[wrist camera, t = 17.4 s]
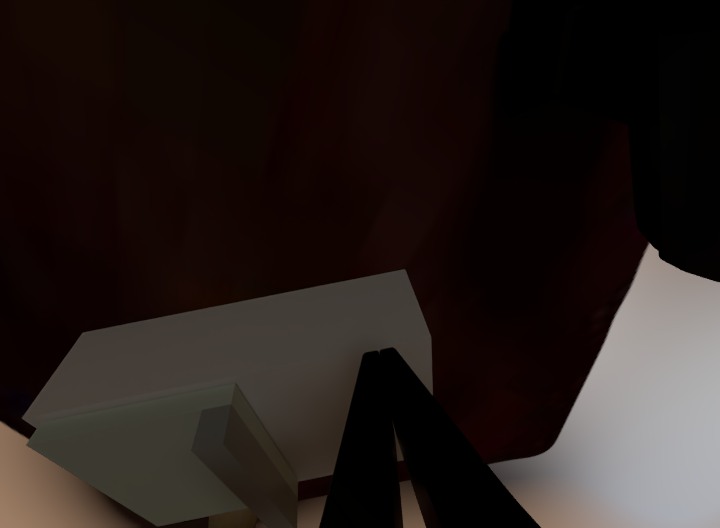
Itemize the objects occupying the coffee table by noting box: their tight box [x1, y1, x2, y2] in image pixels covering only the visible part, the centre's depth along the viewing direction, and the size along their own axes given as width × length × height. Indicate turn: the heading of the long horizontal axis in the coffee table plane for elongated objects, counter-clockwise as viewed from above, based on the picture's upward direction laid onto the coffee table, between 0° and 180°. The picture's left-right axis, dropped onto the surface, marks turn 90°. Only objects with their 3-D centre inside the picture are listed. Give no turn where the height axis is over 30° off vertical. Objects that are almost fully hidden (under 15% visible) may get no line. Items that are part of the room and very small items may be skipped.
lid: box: [27, 384, 298, 528], centre depth 21 cm, size 10×13×3 cm
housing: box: [22, 269, 433, 481], centre depth 24 cm, size 22×14×6 cm, turn 99°
